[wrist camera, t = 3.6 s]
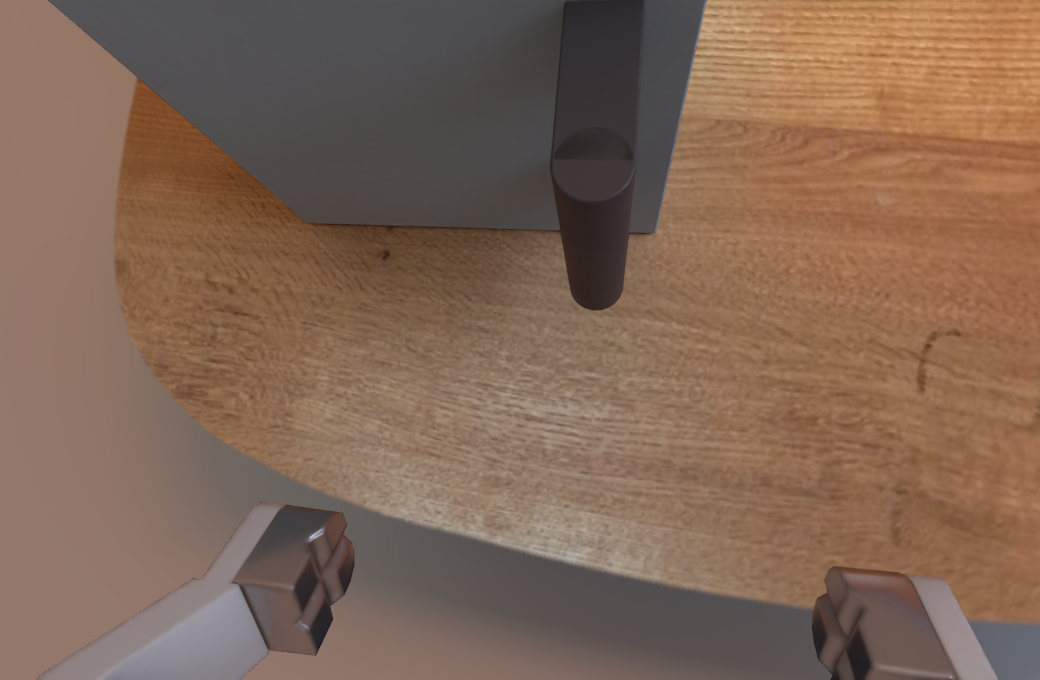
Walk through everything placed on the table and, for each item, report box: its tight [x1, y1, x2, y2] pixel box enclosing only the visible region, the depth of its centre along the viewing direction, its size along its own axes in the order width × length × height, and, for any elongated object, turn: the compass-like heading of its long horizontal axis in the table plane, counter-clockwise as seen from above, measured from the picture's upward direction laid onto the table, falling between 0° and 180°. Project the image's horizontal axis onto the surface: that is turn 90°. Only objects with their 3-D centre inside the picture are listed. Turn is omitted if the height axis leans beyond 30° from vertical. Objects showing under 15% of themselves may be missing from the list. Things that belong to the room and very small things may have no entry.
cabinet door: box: [48, 0, 707, 310], centre depth 19 cm, size 6×18×20 cm, turn 85°
